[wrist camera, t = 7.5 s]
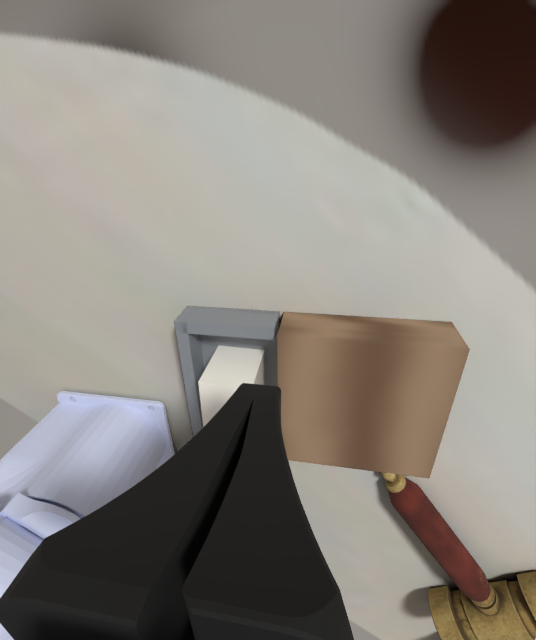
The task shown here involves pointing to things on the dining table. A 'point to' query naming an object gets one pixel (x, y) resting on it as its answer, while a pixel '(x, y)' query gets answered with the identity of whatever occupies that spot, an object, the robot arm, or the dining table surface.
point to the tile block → (228, 376)
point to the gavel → (464, 578)
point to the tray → (224, 330)
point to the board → (367, 390)
